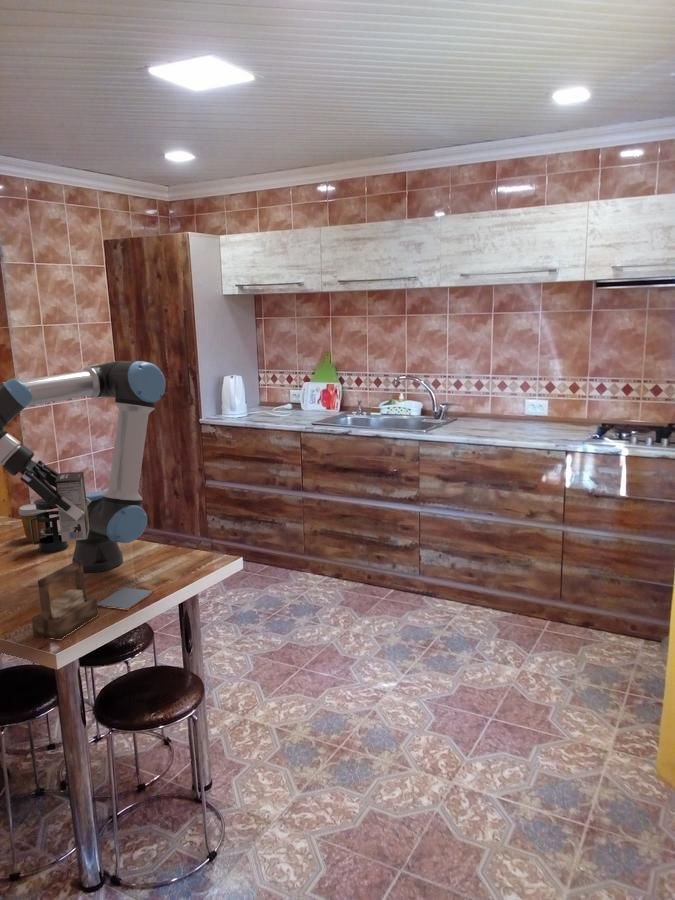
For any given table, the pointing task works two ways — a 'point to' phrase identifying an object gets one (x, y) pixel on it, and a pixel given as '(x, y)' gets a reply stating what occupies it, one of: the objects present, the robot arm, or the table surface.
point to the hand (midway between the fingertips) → (84, 510)
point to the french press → (48, 529)
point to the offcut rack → (63, 605)
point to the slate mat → (124, 598)
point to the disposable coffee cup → (31, 512)
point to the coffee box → (75, 492)
